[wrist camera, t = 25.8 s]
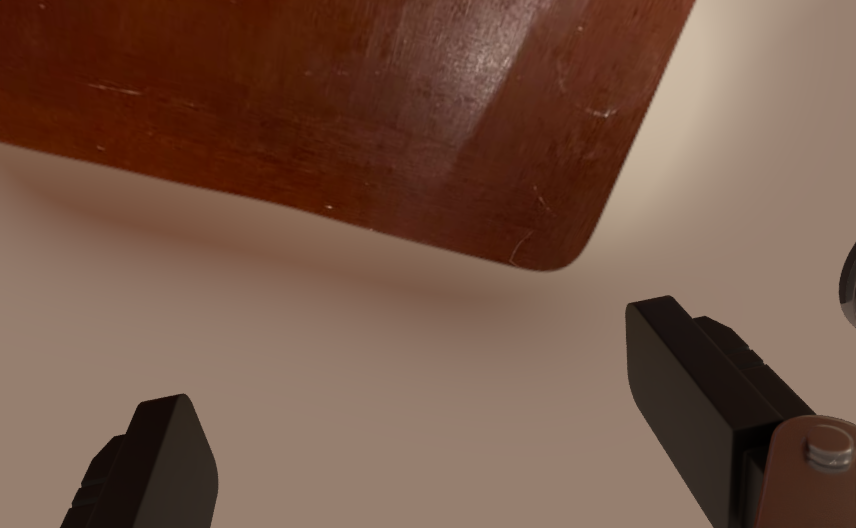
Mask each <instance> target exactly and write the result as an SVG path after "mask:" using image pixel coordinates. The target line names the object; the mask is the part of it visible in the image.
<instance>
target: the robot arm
mask: <svg viewBox="0 0 856 528" xmlns="http://www.w3.org/2000/svg"><path fill="white" fill-rule="evenodd" d="M625 314H626V315H625V318H626V342H627V343H626V344H627V370H628V379H629V385H630V389H631V392H632V395H633V398H634V400H635V402H636V405H637V407H638V408H639V410H640V411H641V413H642V415H643V416H644V418H645V419H646V421H647V423H648V424H649V426H650V427H651V429H652V431H653V432H654V434H655V435H656V437H657V438H658V440H659V442H660V443H661V445H662V446H663V448H664V450H665V451H666V453H667V454H668V456H669V457H670V459H671V461H672V462H673V464H674V466H675V467H676V469H677V470H678V472H679V474H680V475H681V477H682V478H683V480H684V481H685V483H686V485H687V486H688V488H689V489H690V491H691V493H692V494H693V496H694V497H695V499H696V500H697V502H698V504H699V505H700V507H701V509H702V510H703V511H704V513H705V515H706V516H707V518H708V520H709V521H710V523H711V524H712V526H713V527H714V528H856V425H855V424H853V423H851V422H848V421H845V420H842V419H839V418H834V417H829V416H823V415H816V413H815V412H814V411H812V409H811V408H810V407H809V406H808V405H807V404H806V403H805V402H804V401H803V400H802V399H801V398H800V397H799V396H798V395H796V393H795V392H794V391H793V390H792V389H791V388H790V387H789V386H788V385H787V384H786V383H785V382H784V381H783V380H782V379H781V378H780V377H779V376H778V375H777V374H776V373H775V372H774V371H773V370H772V369H771V368H770V367H769V366H768V365H767V364H766V365H764V363H763V360H762V359H761V358H760V357H759V356H758V355H757V354H756V353H755V352H754V351H753V350H750V349H749V346H748V345H747V344H746V343H745V342H744V341H743V340H742V339H741V338H740V337H739V336H738V335H737V334H736V333H735V332H734V331H733V330H732V329H731V328H729V327H727V326H725V325H723V324H721V323H719V322H717V321H714V320H712V319H711V318H709V317H706V316H702V317H698V318H693V319H692V318H691V316H690V315H689V314H688V313H687V312H686V311H685V310H684V309H683V308H682V307H681V306H680V305H679V303H678V302H677V301H676V300H675V299H674V298H673V297H671V296H669V295H667V296H663V297H657V298H652V299H648V300H643V301H638V302H633V303H629V304H628V305H627V307H626V313H625ZM81 486H82V487H81V488H79V489H78V491H77V493H76V495H75V497H74V500H73V501H72V508H70V509H69V510H68V512H67V514H66V516H65V518H64V521H63V523H62V525H61V527H60V528H210V526H211V521H212V517H213V512H214V507H215V503H216V498H217V494H218V472H217V467H216V463H215V459H214V456H213V454H212V451H211V449H210V446H209V444H208V441H207V439H206V437H205V434H204V431H203V429H202V426H201V424H200V421H199V419H198V417H197V414H196V412H195V409H194V407H193V404H192V402H191V400H190V399H189V397H188V396H187V395H186V394H178V395H173V396H168V397H163V398H158V399H154V400H148V401H144V402H141V403H140V404H139V405H138V406H137V408H136V411H135V413H134V415H133V418H132V420H131V422H130V425H129V427H128V430H127V432H126V434H124V435H119V436H114V437H113V438H112V439H111V440H110V441H109V442H108V443H107V445H106V446H105V447H104V448H103V449H102V450H101V451H100V452H99V453H98V454H97V455H96V456H95V457H94V458H93V460H92V461H91V464H90V466H89V468H88V470H87V472H86V474H85V476H84V478H83V480H82V482H81Z"/></svg>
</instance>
